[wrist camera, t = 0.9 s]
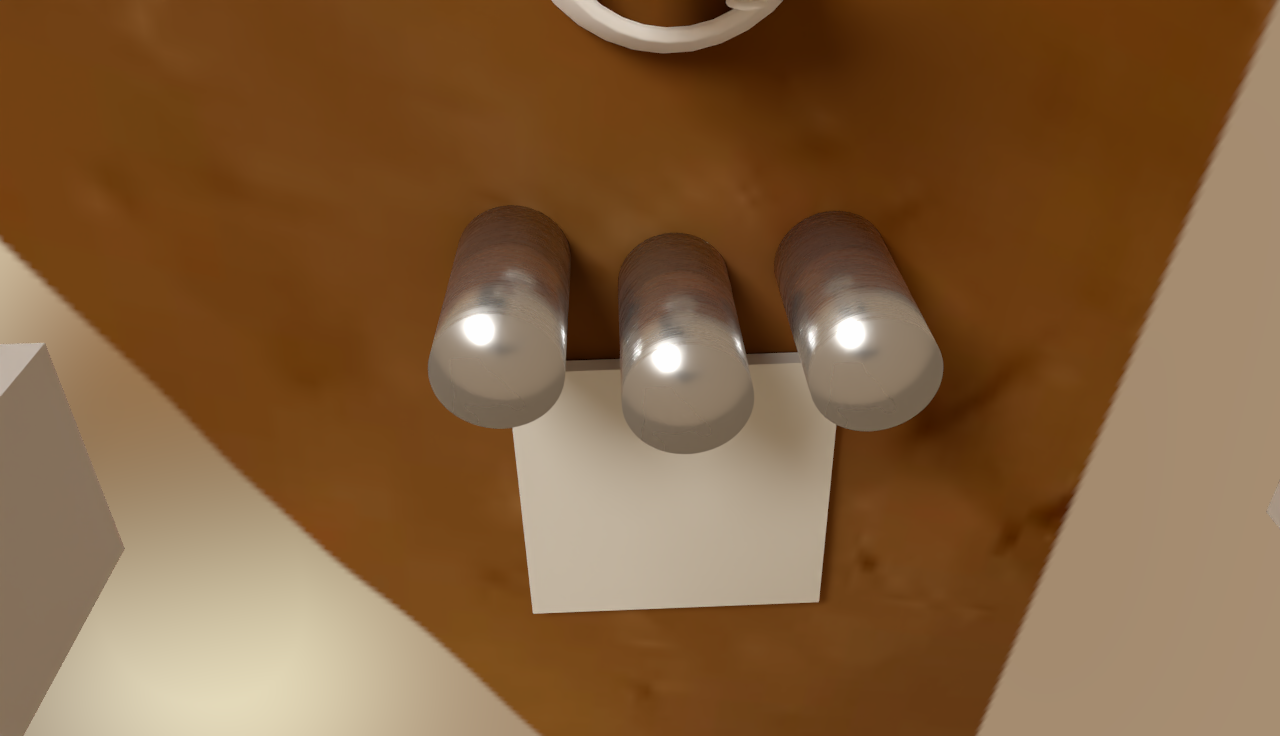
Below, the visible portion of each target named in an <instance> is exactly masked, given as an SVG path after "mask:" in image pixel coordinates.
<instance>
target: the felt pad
mask: <svg viewBox="0 0 1280 736" xmlns="http://www.w3.org/2000/svg"><path fill="white" fill-rule="evenodd" d="M746 357H747V362H748V366H749V371H750V375H751V380H752V384H753V389H754V405H753V409H752V413H751V415H750V417H749V420H748V421H747V423H746V424H745V426H744V427H743V428H742V430H741V431H740V432H739V433H738V434H737V435H736V436H735V437H733V438H732V439H731V440H729V441H728V442H726V443H725V444H723V445H721V446H719V447H717V448H714V449H712V450H709V451H706V452H701V453H696V454H675V453H669V452H664V451H661V450H658V449H656V448H654V447H651V446H649V445H648V444H646V443H645V442H643V441H642V440H641V439H639V438H638V437H637V436H636V435H635V434H634V433H633V432H632V430H631V429H630V427H629V426H628V424H627V422H626V420H625V418H624V415H623V411H622V400H621V367H620V359H600V360H573V361H566V366H565V381H564V386H563V389H562V392H561V394H560V396H559V398H558V400H557V401H556V403H555V404H554V406H553V407H552V408H551V409H550V410H549V411H548V412H547V413H545V414H544V415H543V416H541V417H540V418H538V419H536V420H535V421H532V422H530V423H528V424H525V425H522V426H518V427H513V437H514V446H515V455H516V464H517V473H518V482H519V491H520V500H521V509H522V518H523V527H524V536H525V545H526V555H527V564H528V573H529V582H530V591H531V600H532V609H533V614H536V613H560V612H585V611H610V610H635V609H660V608H684V607H709V606H734V605H759V604H784V603H808V602H819V596H820V586H821V576H822V566H823V556H824V546H825V535H826V525H827V515H828V505H829V495H830V485H831V474H832V464H833V454H834V444H835V434H836V424H834V423H833V422H831V421H829V420H828V419H827V418H825V417H824V416H823V415H822V414H821V413H820V411H819V410H818V409H817V407H816V406H815V404H814V402H813V400H812V397H811V394H810V390H809V387H808V384H807V381H806V377H805V374H804V371H803V367H802V364H801V361H800V357H799V354H798V352H791V353H763V354H746Z"/></svg>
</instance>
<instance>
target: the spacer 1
mask: <svg viewBox="0 0 1280 736" xmlns="http://www.w3.org/2000/svg"><path fill="white" fill-rule="evenodd" d="M570 269H571V253H570V247H569V244H568V241H567V239H566V237H565V235H564V233H563V232H562V230H561V229H560V228H559V227H558V225H557V224H556V223H555V222H554V221H552V220H551V219H550V218H549V217H547V216H546V215H544V214H542V213H540V212H539V211H536V210H534V209H531V208H527V207H522V206H500V207H496V208H493V209H490V210H487V211H485V212H483V213H481V214H480V215H478V216H477V217H475V218H474V219H473V220H472V221H471V222H470V223H469V224H468V226H467V227H466V228H465V230H464V231H463V233H462V235H461V238H460V240H459V244H458V248H457V252H456V256H455V260H454V264H453V268H452V272H451V275H450V279H449V283H448V287H447V291H446V295H445V299H444V303H443V306H442V310H441V314H440V318H439V322H438V326H437V330H436V334H435V337H434V341H433V345H432V349H431V353H430V357H429V361H428V376H429V380H430V384H431V386H432V389H433V391H434V393H435V395H436V396H437V398H438V399H439V400H440V402H441V403H442V404H443V405H444V406H445V407H446V408H447V409H448V410H449V411H450V412H452V413H453V414H454V415H456V416H457V417H459V418H461V419H463V420H465V421H467V422H469V423H472V424H475V425H478V426H482V427H487V428H502V429H503V428H513V427H518V426H522V425H525V424H528V423H530V422H532V421H535V420H536V419H538V418H540V417H541V416H543V415H544V414H545V413H547V412H548V411H549V410H550V409H551V408H552V407H553V406H554V404H555V403H556V401H557V400H558V398H559V396H560V394H561V392H562V389H563V386H564V381H565V366H566V347H567V327H568V308H569V289H570Z"/></svg>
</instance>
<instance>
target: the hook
mask: <svg viewBox="0 0 1280 736" xmlns="http://www.w3.org/2000/svg"><path fill="white" fill-rule="evenodd" d="M552 1H553V3H554V4H555V5H556V6H557V7H558V8H559V9H561V10H562V11H563V12H564V13H565V14H566V15H567V16H569V17H570V18H571V19H572V20H573V21H574V22H576V23H577V24H578V25H579V26H581V27H583V28H584V29H586V30H588V31H590V32H591V33H593V34H595V35H597V36H598V37H600V38H602V39H604V40H606V41H609V42H612V43H615V44H618V45H621V46H624V47H627V48H629V49H632V50H639V51H647V52H655V53H676V52H690V51H695V50H699V49H703V48H706V47H710V46H714V45H717V44H721V43H723V42H725V41H727V40H729V39H731V38H733V37H735V36H737V35H739V34H741V33H743V32H745V31H747V30H749V29H750V28H752V27H753V26H754V25H756V24H757V23H758V22H760V21H761V20H762V19H764V18H765V17H766V16H768V15H769V14H770V13H772V12H773V11H774V10H775V9H776V8H777V7H778V6H779V4H780V3H781V2H782V1H783V0H726V4H727V6H728V7H730V8H733V10H731V11H729V12H727V13H725V14H723V15H721V16H719V17H717V18H715V19H712V20H709V21H705V22H701V23H698V24H694V25H690V26H678V27H660V26H652V25H644V24H641V23H638V22H635V21H632V20H629V19H626V18H623V17H621V16H620V15H618V14H616V13H614V12H613V11H611V10H609V9H608V8H606V7H604V6H602V5H601V4H600V3H599V2H598V1H597V0H552Z"/></svg>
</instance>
